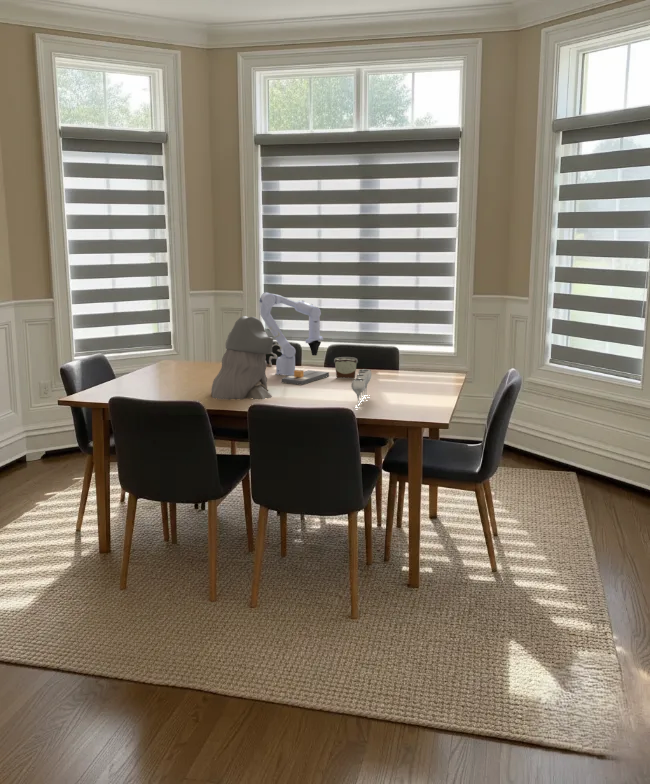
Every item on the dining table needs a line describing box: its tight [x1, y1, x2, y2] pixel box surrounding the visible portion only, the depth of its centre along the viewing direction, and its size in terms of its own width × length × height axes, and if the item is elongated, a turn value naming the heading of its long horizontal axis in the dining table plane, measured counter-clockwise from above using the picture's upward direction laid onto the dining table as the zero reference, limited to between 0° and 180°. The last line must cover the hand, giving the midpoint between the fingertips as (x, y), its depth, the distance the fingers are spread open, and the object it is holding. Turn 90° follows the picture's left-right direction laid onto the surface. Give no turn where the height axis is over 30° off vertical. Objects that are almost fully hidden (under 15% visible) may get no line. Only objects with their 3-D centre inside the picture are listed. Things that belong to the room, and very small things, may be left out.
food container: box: [333, 356, 359, 379], centre depth 374 cm, size 12×6×10 cm, turn 84°
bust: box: [210, 315, 282, 400], centre depth 334 cm, size 34×34×35 cm
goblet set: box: [350, 368, 372, 408], centre depth 318 cm, size 28×6×13 cm, turn 169°
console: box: [281, 369, 330, 386], centre depth 369 cm, size 12×26×2 cm, turn 150°
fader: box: [294, 369, 305, 377], centre depth 363 cm, size 4×2×3 cm, turn 60°
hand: (314, 355), depth 384 cm, fingers closed
